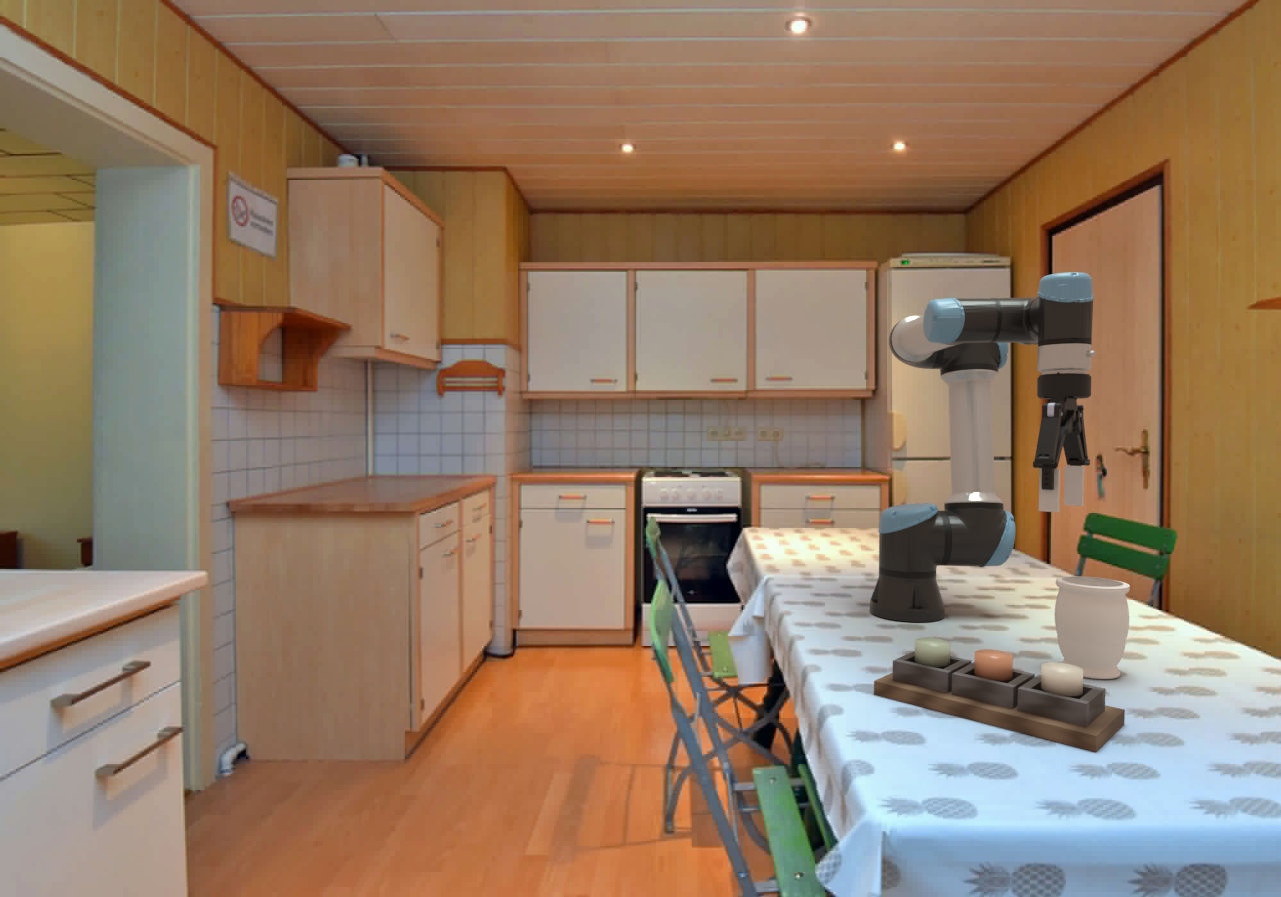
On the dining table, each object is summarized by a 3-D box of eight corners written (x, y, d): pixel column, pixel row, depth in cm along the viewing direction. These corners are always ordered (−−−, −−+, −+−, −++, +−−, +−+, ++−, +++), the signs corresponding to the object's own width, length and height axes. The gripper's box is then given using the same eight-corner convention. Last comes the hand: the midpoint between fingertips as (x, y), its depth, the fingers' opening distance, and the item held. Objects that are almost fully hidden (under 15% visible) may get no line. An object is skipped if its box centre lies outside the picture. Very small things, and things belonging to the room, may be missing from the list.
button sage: (908, 661, 121) (909, 642, 120) (923, 655, 124) (923, 635, 124) (941, 669, 117) (941, 648, 117) (955, 661, 121) (955, 642, 121)
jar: (1119, 666, 134) (1121, 577, 134) (1135, 685, 125) (1137, 589, 124) (1049, 660, 138) (1050, 573, 137) (1059, 678, 128) (1061, 585, 128)
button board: (873, 694, 120) (874, 661, 120) (913, 674, 130) (913, 644, 129) (1096, 752, 99) (1097, 712, 99) (1124, 724, 109) (1125, 687, 108)
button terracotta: (968, 675, 114) (968, 654, 114) (982, 667, 118) (982, 647, 118) (1004, 683, 111) (1005, 661, 111) (1018, 675, 114) (1018, 654, 114)
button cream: (1035, 690, 108) (1035, 667, 108) (1048, 681, 112) (1048, 660, 111) (1076, 699, 104) (1076, 676, 104) (1087, 690, 108) (1088, 667, 108)
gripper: (1068, 367, 114) (1065, 516, 115) (1110, 376, 132) (1107, 504, 133) (1012, 370, 119) (1010, 512, 120) (1060, 378, 138) (1058, 501, 138)
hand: (1061, 508), depth 126 cm, fingers open, 13 cm apart
